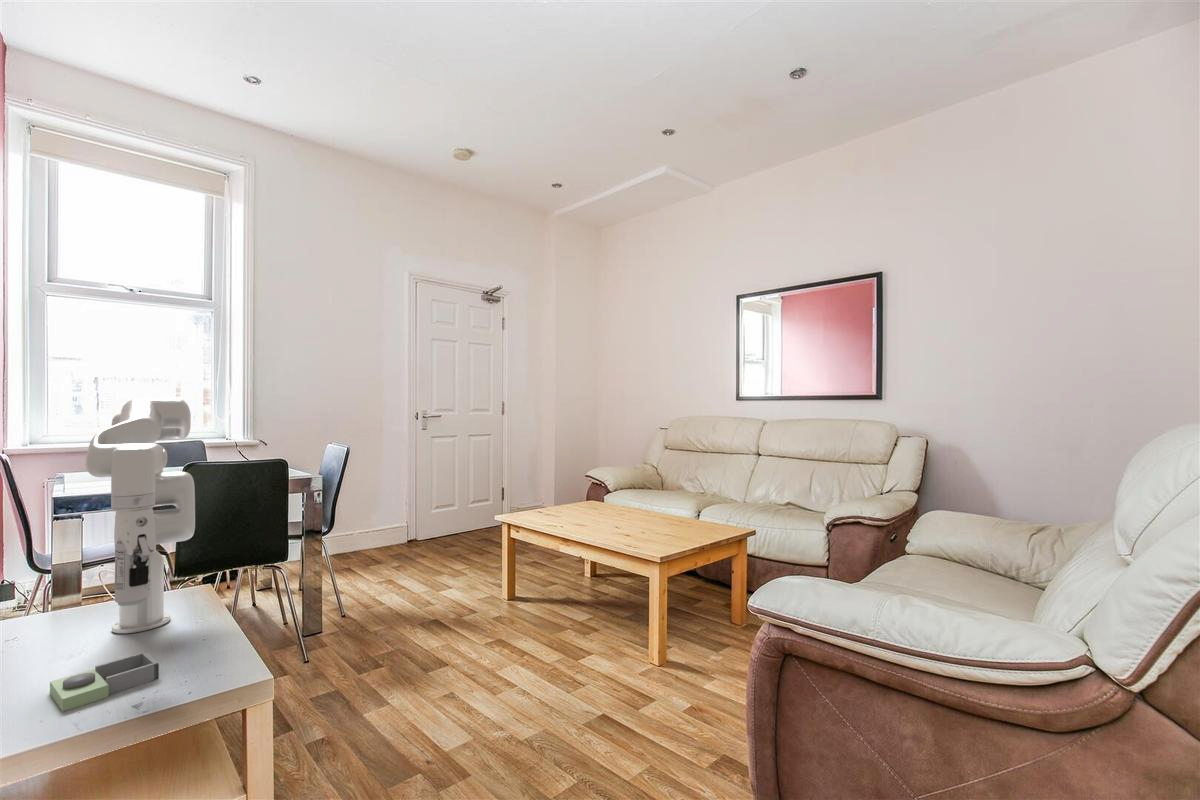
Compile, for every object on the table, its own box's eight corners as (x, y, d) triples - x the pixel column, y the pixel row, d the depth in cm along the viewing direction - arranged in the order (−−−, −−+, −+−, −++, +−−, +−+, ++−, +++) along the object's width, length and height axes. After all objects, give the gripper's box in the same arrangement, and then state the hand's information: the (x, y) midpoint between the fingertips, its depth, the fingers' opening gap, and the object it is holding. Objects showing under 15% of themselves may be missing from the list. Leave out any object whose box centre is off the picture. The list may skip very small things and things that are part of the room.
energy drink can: (149, 603, 122) (149, 535, 122) (113, 609, 118) (113, 539, 118) (150, 595, 127) (151, 530, 127) (116, 600, 123) (116, 534, 123)
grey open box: (49, 693, 116) (50, 676, 116) (143, 665, 129) (143, 650, 129) (62, 711, 109) (62, 694, 109) (160, 679, 122) (160, 664, 122)
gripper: (169, 503, 121) (168, 584, 121) (139, 495, 130) (139, 571, 130) (126, 509, 115) (125, 594, 115) (98, 500, 124) (98, 579, 124)
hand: (133, 581), depth 122 cm, fingers closed on energy drink can, 6 cm apart
